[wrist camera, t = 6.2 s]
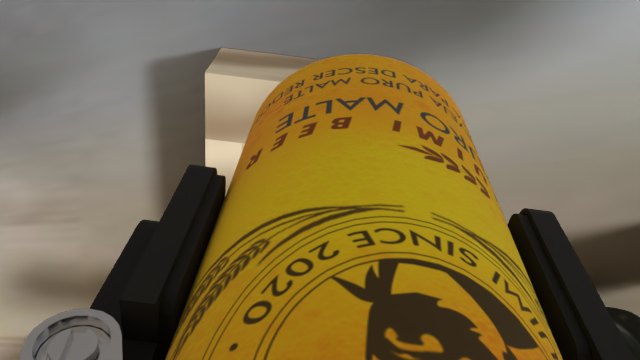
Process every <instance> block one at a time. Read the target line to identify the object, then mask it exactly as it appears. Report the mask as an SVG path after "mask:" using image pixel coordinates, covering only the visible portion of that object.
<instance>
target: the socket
mask: <svg viewBox="0 0 640 360" xmlns="http://www.w3.org/2000/svg"><path fill="white" fill-rule="evenodd" d="M317 61H320V60H319V59H311V58H303V57H295V56H287V55H279V54H271V53H262V52H254V51H246V50H238V49H230V48H221V49H220V51H219V52H218V54H217V55H216V57H215V58H214V60H213V61H212V63H211V64H210V66H209V67H208V69H207V70H206V72H205V165H206V167H213V168H216V169H217V175H223V176H225V177H226V193H225V196H226V194H227V191H228V188H229V185H230V183H231V180H232V177H233V175H234V172H235V169H236V167H237V164H238V161H239V158H240V156H241V153H242V150H243V148H244V145H245V142H246V140H247V137H248V134H249V131H250V129H251V126H252V123H253V121H254V118H255V116H256V114H257V112H258V110H259V108H260V106H261V105H262V103H263V102H264V100H265V99H266V98H267V96H268V95H269V94H270V92H271V91H272V90H273V89H274V88H275V87H276V86H277V85H278V84H279V83H281V82H282V81H283V80H284V79H286V78H287V77H288V76H289V75H291V74H293V73H294V72H296V71H297V70H299V69H301V68H303V67H305V66H307V65H309V64H311V63H314V62H317Z"/></svg>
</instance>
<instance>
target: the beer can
mask: <svg viewBox="0 0 640 360" xmlns="http://www.w3.org/2000/svg"><path fill="white" fill-rule="evenodd" d="M165 360H563V359H562V356H561V354H560V352H559V349H558V347H557V344H556V342H555V339H554V337H553V335H552V332H551V330H550V327H549V325H548V322H547V320H546V318H545V315H544V313H543V310H542V308H541V306H540V303H539V301H538V298H537V296H536V293H535V291H534V289H533V286H532V284H531V281H530V279H529V277H528V274H527V272H526V269H525V267H524V264H523V262H522V260H521V257H520V255H519V252H518V250H517V247H516V245H515V243H514V240H513V238H512V235H511V233H510V231H509V228H508V226H507V223H506V221H505V218H504V216H503V214H502V211H501V209H500V206H499V204H498V202H497V199H496V197H495V194H494V192H493V189H492V187H491V185H490V182H489V180H488V177H487V175H486V173H485V170H484V168H483V165H482V163H481V160H480V158H479V156H478V153H477V151H476V148H475V146H474V143H473V141H472V139H471V136H470V134H469V131H468V129H467V127H466V124H465V122H464V119H463V117H462V115H461V113H460V111H459V109H458V107H457V105H456V104H455V102H454V101H453V99H452V98H451V96H450V95H449V94H448V93H447V92H446V91H445V89H444V88H443V87H442V86H441V85H440V84H439V83H437V82H436V81H435V80H434V79H433V78H431V77H430V76H429V75H427V74H426V73H424V72H423V71H421V70H419V69H417V68H415V67H413V66H412V65H410V64H407V63H404V62H402V61H399V60H396V59H392V58H388V57H384V56H378V55H371V54H349V55H339V56H335V57H330V58H326V59H323V60H320V61H317V62H314V63H311V64H309V65H307V66H305V67H303V68H301V69H299V70H297V71H296V72H294V73H293V74H291V75H289V76H288V77H287V78H286V79H284V80H283V81H282V82H281V83H279V84H278V85H277V86H276V87H275V88H274V89H273V90H272V91H271V92H270V94H269V95H268V96H267V98H266V99H265V100H264V102H263V103H262V105H261V106H260V108H259V110H258V112H257V114H256V116H255V118H254V121H253V123H252V126H251V129H250V131H249V134H248V137H247V140H246V142H245V145H244V148H243V150H242V153H241V156H240V158H239V161H238V164H237V167H236V169H235V172H234V175H233V177H232V180H231V183H230V185H229V188H228V191H227V194H226V196H225V199H224V202H223V205H222V208H221V210H220V213H219V216H218V218H217V221H216V224H215V226H214V229H213V232H212V235H211V237H210V240H209V243H208V245H207V248H206V251H205V254H204V256H203V259H202V262H201V264H200V267H199V270H198V272H197V275H196V278H195V281H194V283H193V286H192V289H191V291H190V294H189V297H188V300H187V302H186V305H185V308H184V310H183V313H182V316H181V318H180V321H179V324H178V327H177V329H176V332H175V335H174V337H173V340H172V342H171V345H170V347H169V350H168V353H167V356H166V358H165Z"/></svg>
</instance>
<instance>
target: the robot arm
mask: <svg viewBox="0 0 640 360" xmlns="http://www.w3.org/2000/svg"><path fill="white" fill-rule="evenodd" d="M225 193H226V177H225V176H223V175H217V169H216V168H213V167H206V166H198V165H189V167H188V168H187V170H186V172H185V174H184V176H183V178H182V180H181V182H180V183H179V185H178V187H177V189H176V191H175V193H174V195H173V197H172V199H171V201H170V203H169V205H168V207H167V208H166V210H165V212H164V214H163V216H162V218H161V220H160V222H158V221H150V220H142V221H140V223H139V224H138V225H137V227H136V229H135V230H134V232H133V234H132V236H131V237H130V239H129V241H128V243H127V244H126V246H125V248H124V250H123V251H122V253H121V255H120V257H119V258H118V260H117V262H116V263H115V265H114V267H113V269H112V270H111V272H110V274H109V276H108V277H107V279H106V281H105V283H104V284H103V286H102V288H101V290H100V291H99V293H98V295H97V297H96V298H95V300H94V302H93V303H92V305H91V307H90V309H73V310H69V311H65V312H61V313H58V314H56V315H54V316H52V317H50V318H48V319H46V320H44V321H43V322H42V323H40V324H39V325H38V326H36V327H35V328H34V329H33V330H32V331H31V333H30V334H29V335H28V336H27V338H26V339H25V341H24V344H23V347H22V349H21V354H20V360H165V358H166V356H167V353H168V350H169V347H170V345H171V342H172V340H173V337H174V335H175V332H176V329H177V327H178V324H179V321H180V318H181V316H182V313H183V310H184V308H185V305H186V302H187V300H188V297H189V294H190V291H191V289H192V286H193V283H194V281H195V278H196V275H197V272H198V270H199V267H200V264H201V262H202V259H203V256H204V254H205V251H206V248H207V245H208V243H209V240H210V237H211V235H212V232H213V229H214V226H215V224H216V221H217V218H218V216H219V213H220V210H221V208H222V205H223V202H224V199H225ZM507 226H508V228H509V231H510V233H511V235H512V238H513V240H514V243H515V245H516V247H517V250H518V252H519V255H520V257H521V260H522V262H523V264H524V267H525V269H526V272H527V274H528V277H529V279H530V281H531V284H532V286H533V289H534V291H535V293H536V296H537V298H538V301H539V303H540V306H541V308H542V310H543V313H544V315H545V318H546V320H547V322H548V325H549V327H550V330H551V332H552V335H553V337H554V339H555V342H556V344H557V347H558V349H559V352H560V354H561V356H562V359H563V360H635V359H634V357H633V355H632V354H631V352H630V350H629V348H628V346H627V345H626V343H625V341H624V339H623V337H622V336H621V334H620V332H619V330H618V328H617V327H616V325H615V323H614V321H613V319H612V318H611V316H610V314H609V312H608V310H607V309H606V307H605V305H604V303H603V301H602V300H601V298H600V296H599V294H598V292H597V291H596V289H595V287H594V285H593V283H592V282H591V280H590V278H589V276H588V274H587V273H586V271H585V269H584V267H583V265H582V264H581V262H580V260H579V258H578V256H577V255H576V253H575V251H574V249H573V247H572V246H571V244H570V242H569V240H568V238H567V237H566V235H565V233H564V231H563V229H562V228H561V226H560V224H559V222H558V220H557V219H556V217H555V215H554V214H553V213H552V212H549V211H542V210H534V209H527V208H525V209H523V210H522V211H521V212H520V214H513V215H512V216H511V218H510V220H509V223H508V225H507Z"/></svg>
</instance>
